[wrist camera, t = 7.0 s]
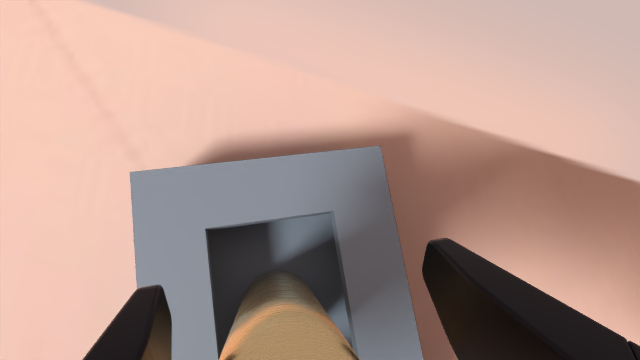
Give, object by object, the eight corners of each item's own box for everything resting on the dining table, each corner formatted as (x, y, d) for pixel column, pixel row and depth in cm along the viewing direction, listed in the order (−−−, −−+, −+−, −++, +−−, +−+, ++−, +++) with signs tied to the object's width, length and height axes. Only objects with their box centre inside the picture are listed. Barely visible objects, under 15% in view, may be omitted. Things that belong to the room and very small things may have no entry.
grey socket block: (405, 422, 18) (443, 457, 14) (173, 483, 15) (152, 541, 12) (358, 166, 20) (380, 145, 17) (152, 191, 18) (129, 172, 15)
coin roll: (328, 303, 17) (490, 500, 5) (280, 361, 17) (316, 767, 4) (275, 255, 17) (294, 323, 5) (226, 312, 17) (89, 567, 4)
